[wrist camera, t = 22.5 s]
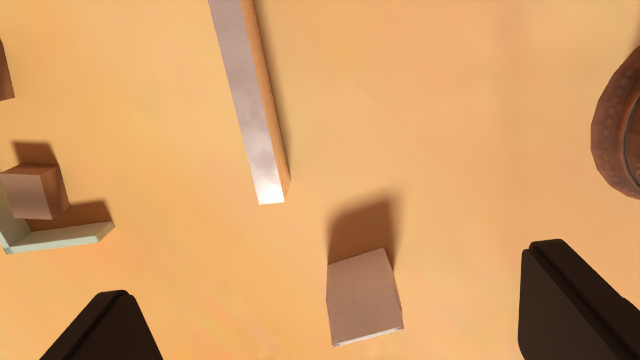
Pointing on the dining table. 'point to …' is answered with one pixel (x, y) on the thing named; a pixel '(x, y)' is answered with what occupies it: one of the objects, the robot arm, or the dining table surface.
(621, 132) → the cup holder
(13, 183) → the small brown block
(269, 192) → the long grey plank
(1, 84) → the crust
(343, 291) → the pale brown block
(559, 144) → the dining table surface
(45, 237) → the grey u-shaped bracket
